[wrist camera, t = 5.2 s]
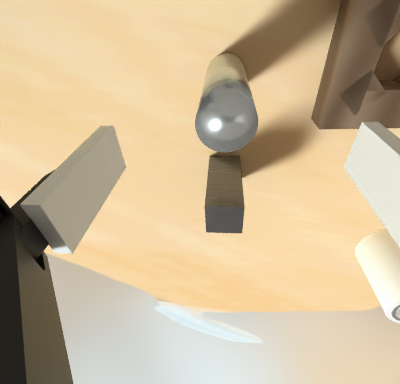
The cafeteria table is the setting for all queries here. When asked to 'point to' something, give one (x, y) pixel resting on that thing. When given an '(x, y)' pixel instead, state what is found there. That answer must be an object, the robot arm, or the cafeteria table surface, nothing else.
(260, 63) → the cafeteria table surface
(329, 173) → the cafeteria table surface
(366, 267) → the mug
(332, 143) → the cafeteria table surface
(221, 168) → the square bit
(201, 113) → the grey cylinder
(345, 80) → the socket block
